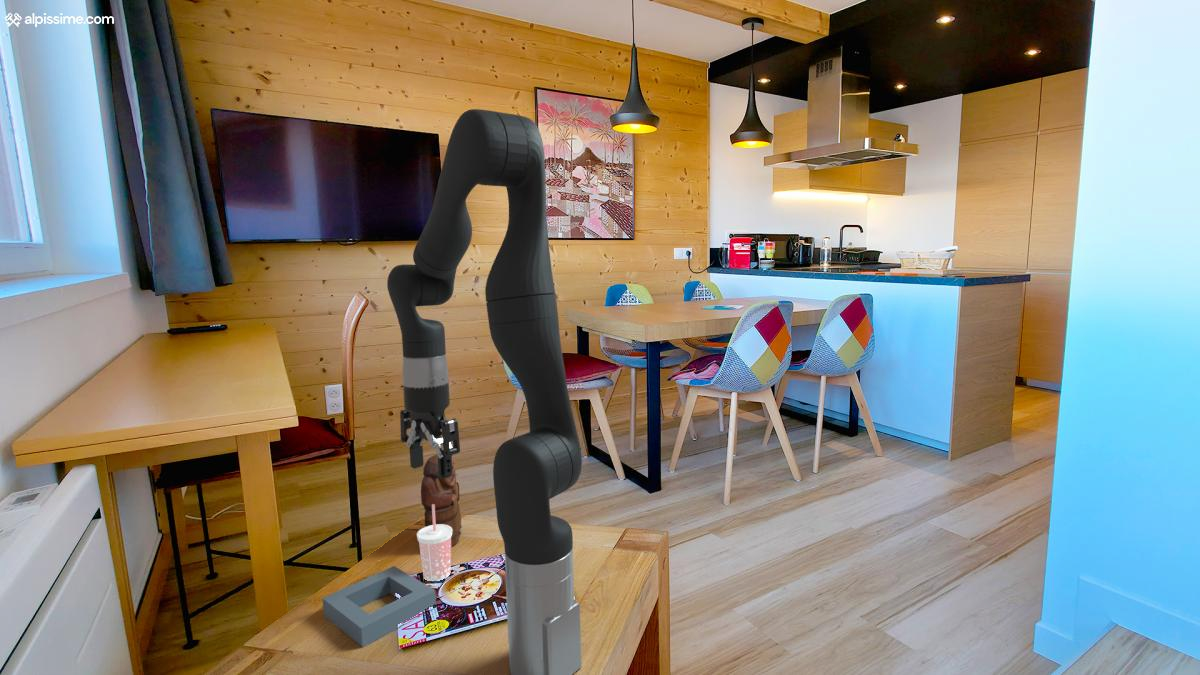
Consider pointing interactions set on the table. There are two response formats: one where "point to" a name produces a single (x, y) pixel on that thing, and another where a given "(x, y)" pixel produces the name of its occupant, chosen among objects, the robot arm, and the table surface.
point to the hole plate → (377, 624)
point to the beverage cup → (435, 550)
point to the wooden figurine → (441, 498)
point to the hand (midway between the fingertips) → (430, 472)
